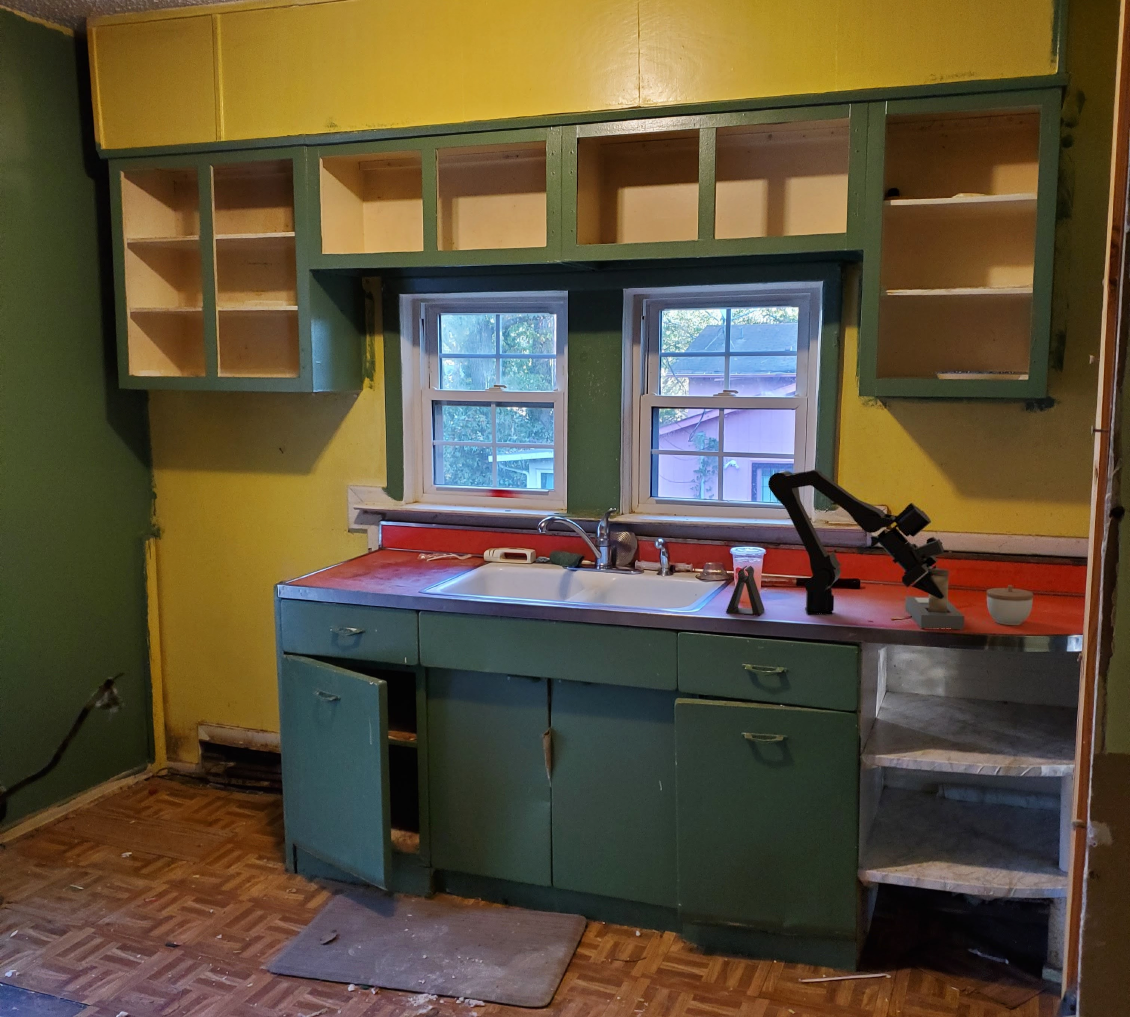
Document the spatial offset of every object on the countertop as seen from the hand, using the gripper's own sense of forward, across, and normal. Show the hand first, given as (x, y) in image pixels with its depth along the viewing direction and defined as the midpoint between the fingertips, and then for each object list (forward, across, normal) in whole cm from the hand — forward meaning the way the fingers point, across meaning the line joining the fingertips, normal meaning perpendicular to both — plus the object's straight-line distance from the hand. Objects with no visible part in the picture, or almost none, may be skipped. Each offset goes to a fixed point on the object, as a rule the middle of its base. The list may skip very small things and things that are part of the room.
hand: (944, 596), depth 260 cm
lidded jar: (+15, +10, -5) cm, 19 cm away
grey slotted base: (+3, +4, +7) cm, 9 cm away
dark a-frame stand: (-29, -9, +40) cm, 50 cm away
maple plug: (+4, 0, +6) cm, 7 cm away
